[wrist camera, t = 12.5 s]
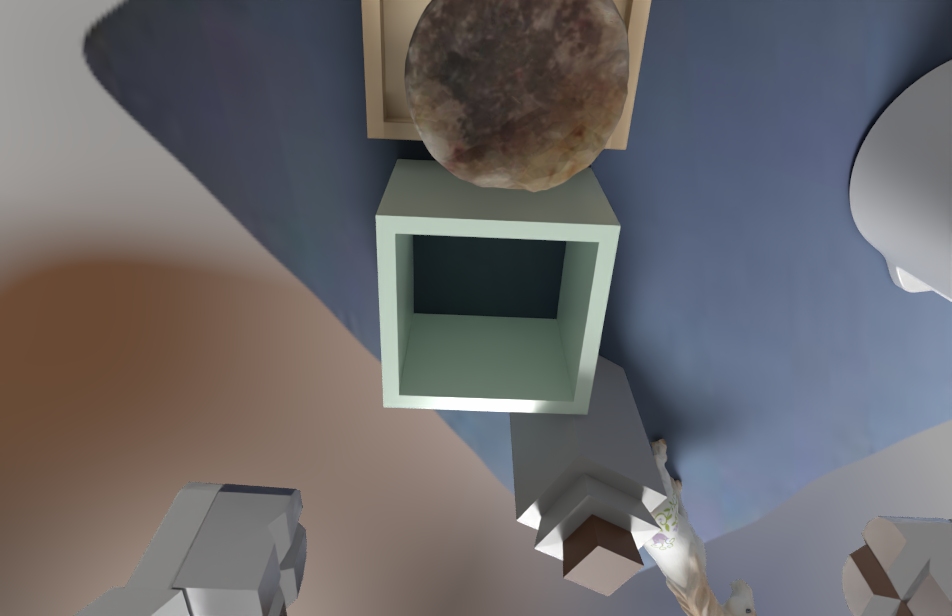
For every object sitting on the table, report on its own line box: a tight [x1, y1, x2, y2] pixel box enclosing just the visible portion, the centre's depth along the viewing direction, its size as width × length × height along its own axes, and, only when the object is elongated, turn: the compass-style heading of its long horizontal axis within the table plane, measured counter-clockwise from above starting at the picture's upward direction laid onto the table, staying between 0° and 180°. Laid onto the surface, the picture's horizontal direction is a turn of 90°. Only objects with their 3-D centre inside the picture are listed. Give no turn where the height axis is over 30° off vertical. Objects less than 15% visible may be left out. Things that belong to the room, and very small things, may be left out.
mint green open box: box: [376, 159, 621, 415], centre depth 40 cm, size 13×13×10 cm
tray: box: [361, 0, 651, 150], centre depth 36 cm, size 16×13×2 cm
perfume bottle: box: [510, 355, 667, 596], centre depth 42 cm, size 7×7×18 cm
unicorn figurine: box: [643, 439, 756, 616], centre depth 50 cm, size 7×20×13 cm, turn 46°
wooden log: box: [404, 0, 630, 192], centre depth 27 cm, size 8×7×20 cm
